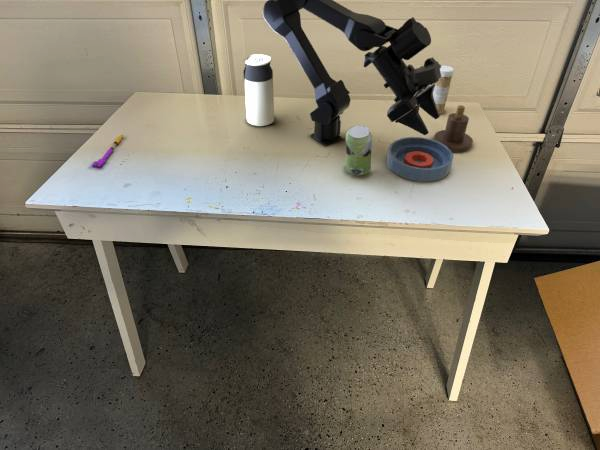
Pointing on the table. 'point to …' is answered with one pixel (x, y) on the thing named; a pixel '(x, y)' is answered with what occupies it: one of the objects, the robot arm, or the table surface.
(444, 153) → the dish
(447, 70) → the sprinkles bottle
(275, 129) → the table surface
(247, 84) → the travel mug
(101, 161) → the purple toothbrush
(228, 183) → the table surface
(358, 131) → the beverage can
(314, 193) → the table surface
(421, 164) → the ring
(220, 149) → the table surface
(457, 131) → the ring stand
